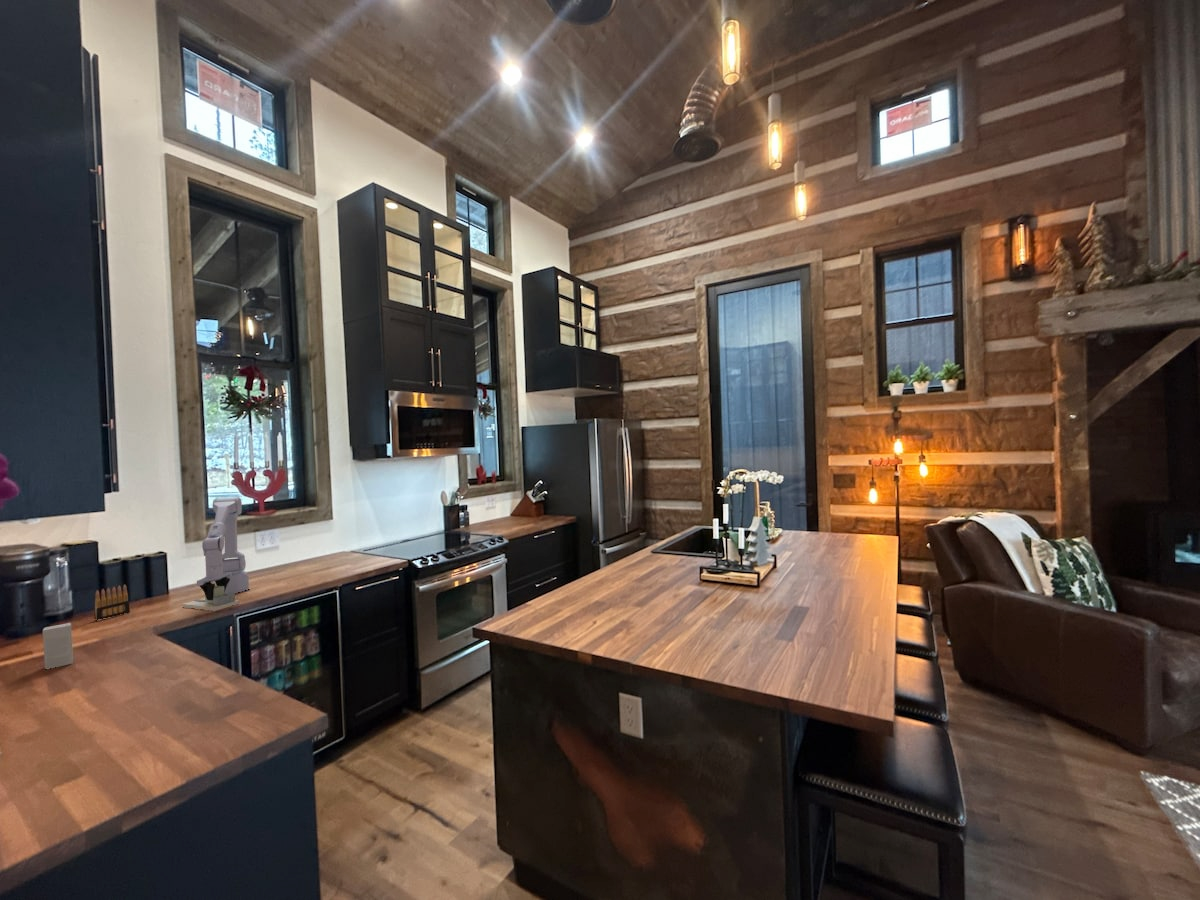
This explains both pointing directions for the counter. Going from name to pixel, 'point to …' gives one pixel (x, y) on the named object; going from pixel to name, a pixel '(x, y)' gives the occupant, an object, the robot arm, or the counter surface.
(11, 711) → the counter surface
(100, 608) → the ammunition clip
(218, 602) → the end stop
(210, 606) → the track board
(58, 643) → the skincare box
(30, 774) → the counter surface
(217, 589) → the keeper
